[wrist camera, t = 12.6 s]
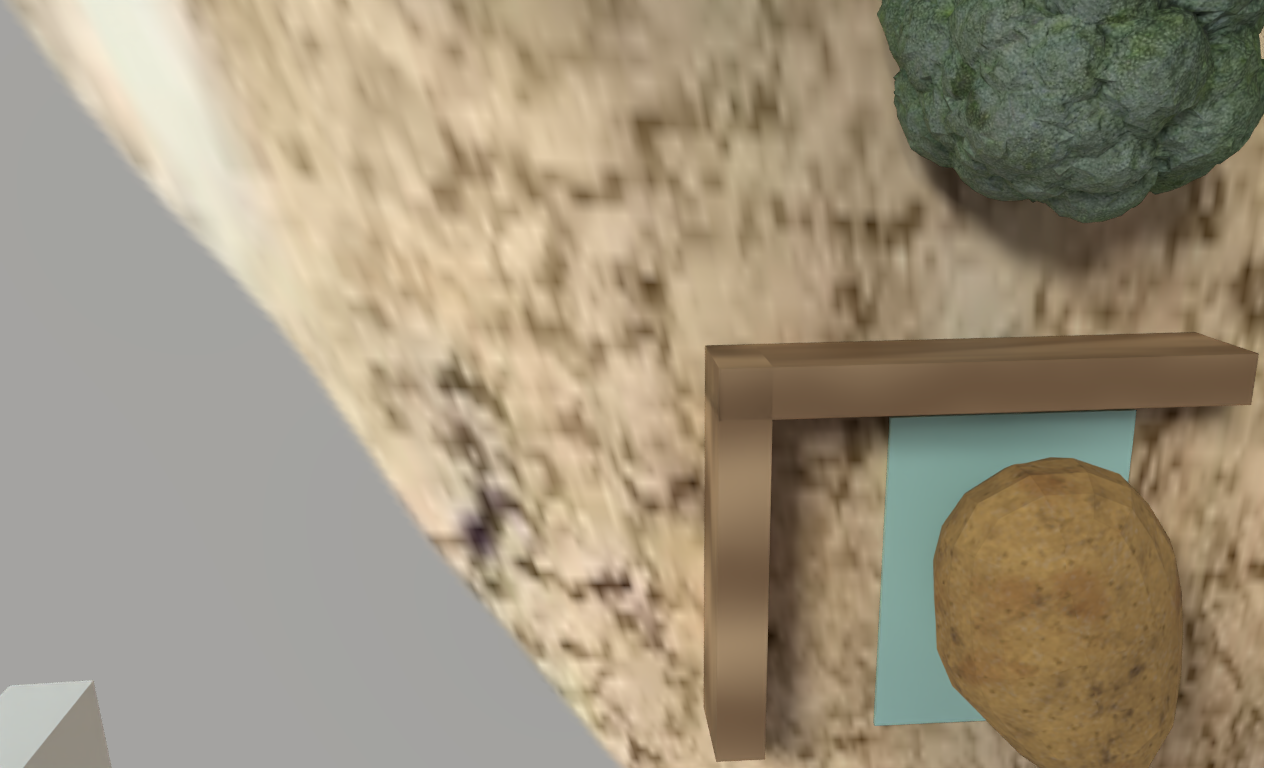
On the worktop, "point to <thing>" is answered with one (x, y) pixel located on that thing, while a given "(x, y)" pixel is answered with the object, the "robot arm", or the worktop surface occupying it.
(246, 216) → the worktop surface
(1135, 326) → the worktop surface
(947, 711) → the pad
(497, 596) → the worktop surface
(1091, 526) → the potato
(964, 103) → the vegetable
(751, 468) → the corner arena
